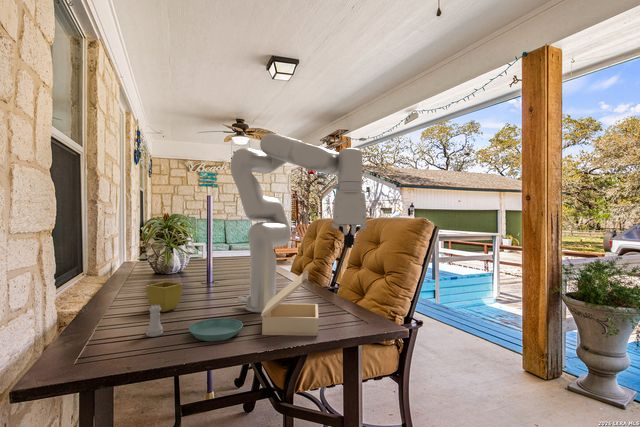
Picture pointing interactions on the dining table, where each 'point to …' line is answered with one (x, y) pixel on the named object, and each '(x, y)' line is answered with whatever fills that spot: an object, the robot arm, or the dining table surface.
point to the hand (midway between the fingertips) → (348, 247)
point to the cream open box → (291, 320)
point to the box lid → (285, 292)
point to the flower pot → (164, 295)
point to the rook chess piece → (154, 322)
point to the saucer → (216, 329)
